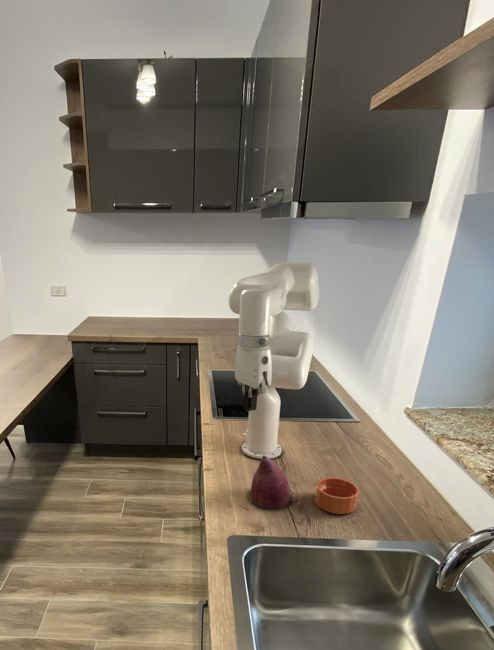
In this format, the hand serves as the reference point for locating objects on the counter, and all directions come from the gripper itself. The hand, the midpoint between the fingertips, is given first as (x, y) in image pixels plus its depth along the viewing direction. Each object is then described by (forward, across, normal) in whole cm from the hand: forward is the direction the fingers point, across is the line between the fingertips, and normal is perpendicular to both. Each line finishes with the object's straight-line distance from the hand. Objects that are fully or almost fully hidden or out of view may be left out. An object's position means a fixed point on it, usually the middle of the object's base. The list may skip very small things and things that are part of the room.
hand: (249, 409), depth 117 cm
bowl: (+22, -21, -13) cm, 33 cm away
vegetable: (+22, -10, 0) cm, 24 cm away
